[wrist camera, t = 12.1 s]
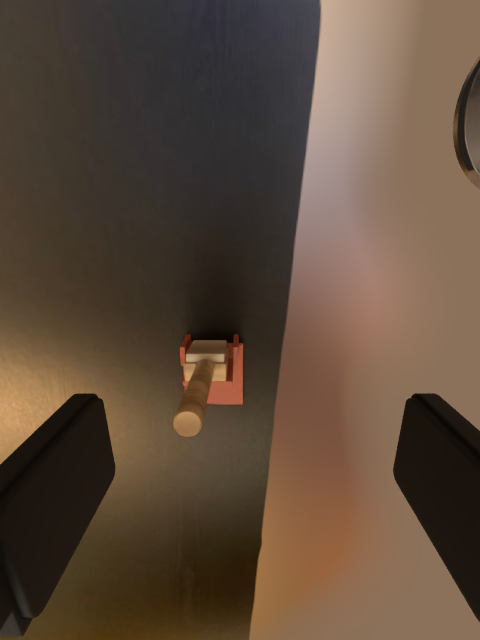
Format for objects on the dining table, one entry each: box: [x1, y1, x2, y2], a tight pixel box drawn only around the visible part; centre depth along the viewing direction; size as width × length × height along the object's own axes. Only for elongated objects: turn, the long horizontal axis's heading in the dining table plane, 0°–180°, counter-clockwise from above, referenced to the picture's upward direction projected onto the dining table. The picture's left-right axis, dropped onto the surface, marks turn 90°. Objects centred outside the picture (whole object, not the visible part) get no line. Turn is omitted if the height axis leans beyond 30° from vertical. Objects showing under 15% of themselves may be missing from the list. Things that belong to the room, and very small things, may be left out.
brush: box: [173, 340, 229, 436], centre depth 27 cm, size 15×4×3 cm
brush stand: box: [180, 334, 243, 404], centre depth 36 cm, size 10×8×7 cm
